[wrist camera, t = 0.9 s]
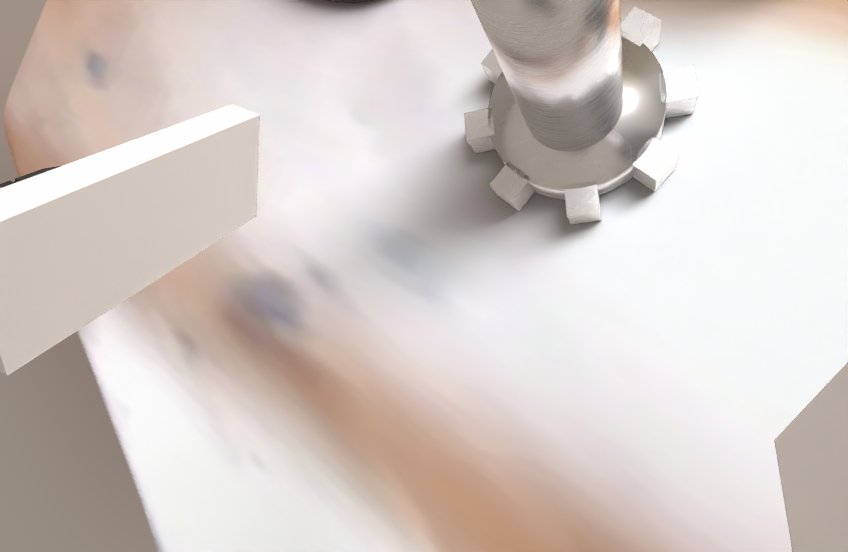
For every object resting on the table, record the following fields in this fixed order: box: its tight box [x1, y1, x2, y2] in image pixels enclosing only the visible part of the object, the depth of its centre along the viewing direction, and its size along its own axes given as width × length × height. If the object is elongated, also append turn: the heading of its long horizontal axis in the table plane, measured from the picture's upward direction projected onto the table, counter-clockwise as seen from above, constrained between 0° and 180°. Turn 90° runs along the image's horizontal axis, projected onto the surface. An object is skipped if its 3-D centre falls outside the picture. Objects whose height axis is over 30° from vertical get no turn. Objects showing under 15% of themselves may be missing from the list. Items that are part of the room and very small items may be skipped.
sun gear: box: [464, 0, 698, 224], centre depth 24 cm, size 12×12×14 cm
